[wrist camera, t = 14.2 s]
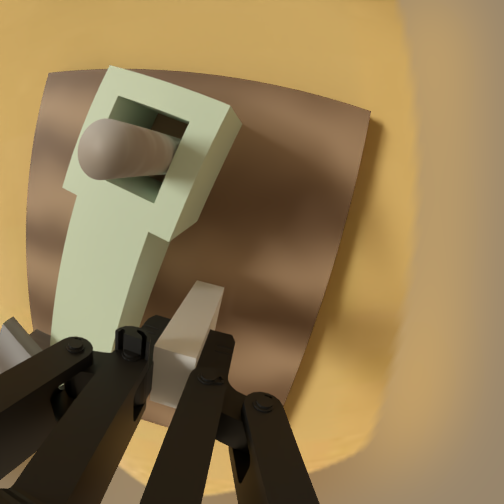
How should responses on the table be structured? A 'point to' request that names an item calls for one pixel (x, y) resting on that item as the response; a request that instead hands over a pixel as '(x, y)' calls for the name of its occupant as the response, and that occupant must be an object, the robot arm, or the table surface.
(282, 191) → the pintle board
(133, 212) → the link
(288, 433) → the robot arm
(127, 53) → the table surface
